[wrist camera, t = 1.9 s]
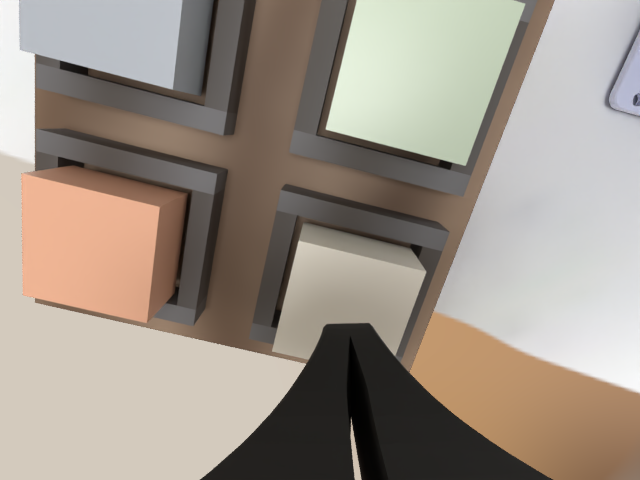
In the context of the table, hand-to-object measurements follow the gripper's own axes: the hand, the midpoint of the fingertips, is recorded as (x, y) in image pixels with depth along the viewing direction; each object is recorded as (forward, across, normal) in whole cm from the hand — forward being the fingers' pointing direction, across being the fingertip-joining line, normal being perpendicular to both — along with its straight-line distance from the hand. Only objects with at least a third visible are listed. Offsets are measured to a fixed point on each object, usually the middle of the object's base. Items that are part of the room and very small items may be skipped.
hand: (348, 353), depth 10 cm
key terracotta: (+5, +9, -2) cm, 10 cm away
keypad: (+8, +3, -5) cm, 10 cm away
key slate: (+5, +6, -10) cm, 13 cm away
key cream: (+5, 0, 0) cm, 5 cm away
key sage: (+5, -2, -8) cm, 9 cm away
